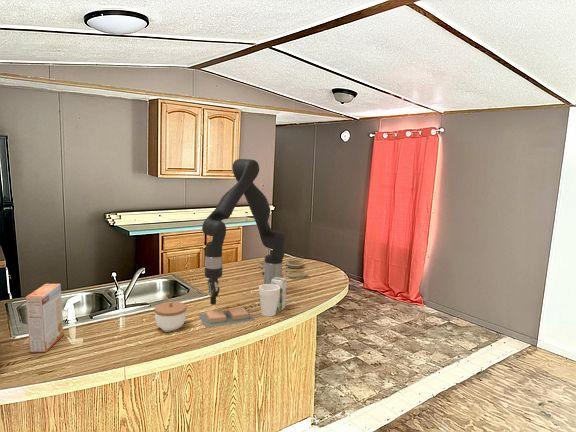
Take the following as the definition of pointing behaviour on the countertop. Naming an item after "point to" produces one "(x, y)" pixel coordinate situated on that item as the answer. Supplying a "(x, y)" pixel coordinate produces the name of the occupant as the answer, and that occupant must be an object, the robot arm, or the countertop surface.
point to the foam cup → (269, 299)
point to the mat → (228, 321)
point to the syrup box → (282, 295)
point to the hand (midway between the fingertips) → (213, 304)
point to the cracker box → (44, 317)
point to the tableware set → (293, 264)
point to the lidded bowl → (170, 315)
